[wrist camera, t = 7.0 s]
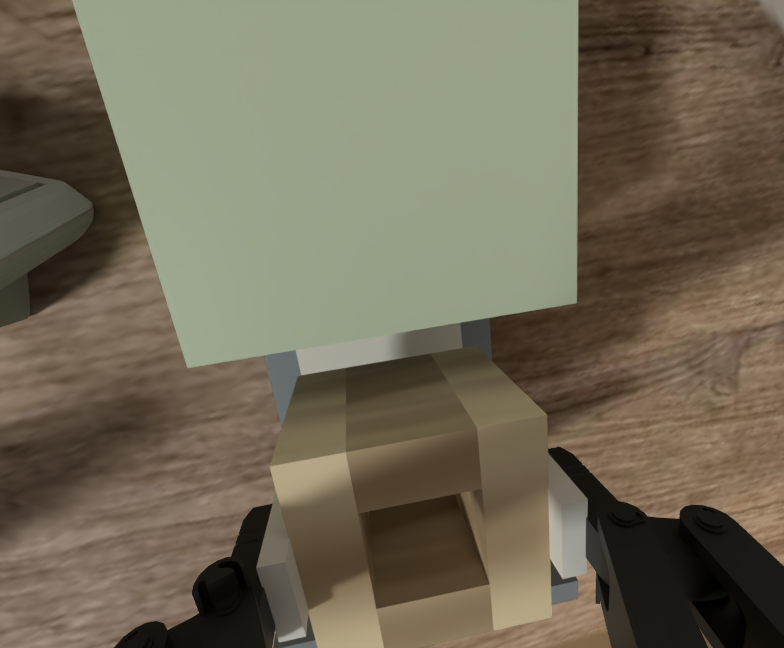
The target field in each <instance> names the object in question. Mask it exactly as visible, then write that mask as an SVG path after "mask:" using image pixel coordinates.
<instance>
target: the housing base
mask: <svg viewBox="0 0 784 648" xmlns="http://www.w3.org/2000/svg"><path fill="white" fill-rule="evenodd" d="M471 346H477V347H478V348H479V349H480V350H481V351H482V352H483V353H484V354H485V355H486V356H487V357H488V358H489V359H490V360H491V361H492V349H491V333H490V318H485V319H479V320H473V321H467V322H461V323H455V324H449V325H443V326H437V327H431V328H425V329H419V330H413V331H407V332H401V333H395V334H389V335H383V336H377V337H371V338H365V339H359V340H353V341H347V342H341V343H335V344H329V345H323V346H317V347H311V348H305V349H299V350H293V351H287V352H281V353H275V354H269V355H264V358H265V362H266V366H267V370H268V374H269V378H270V382H271V386H272V390H273V394H274V398H275V402H276V406H277V410H278V414H279V418H280V422H281V426H282V425H283V422H284V419H285V416H286V413H287V409H288V406H289V403H290V400H291V397H292V394H293V390H294V387H295V384H296V381H297V378H298V376H300V375H306V374H312V373H318V372H324V371H329V370H335V369H341V368H347V367H353V366H359V365H365V364H371V363H377V362H383V361H388V360H394V359H400V358H406V357H412V356H418V355H424V354H430V353H436V352H441V351H447V350H453V349H459V348H465V347H471ZM550 562H551V605H553V604H557V603H562V602H566V601H570V600H575V599H578V580H577V578H576V577H575V576H574V577H570V578H565V579H562V577H561V576H560V574H559V572H558V571H557V569H556V567H555V566H554V564H553V562H552V561H551V559H550ZM274 648H317V644H316V640H315V636H314V633H313V629H312V625H311V621H310V618H309V614H308V621H307V632H306V637H302V638H297V639H293V640H288V641H284V642H279V641H278V638H277V634H276V636H275V642H274Z"/></svg>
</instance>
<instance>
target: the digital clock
mask: <svg viewBox="0 0 784 648" xmlns="http://www.w3.org/2000/svg"><path fill="white" fill-rule="evenodd" d="M92 205H93V204H92V202H91V201H90V200H88V199H87V198H86V197H84V196H83V195H82V194H80V193H79V192H78V191H76V190H75V189H74V188H72V187H71V186H69V185H68V184H67V183H65V182H63V181H59V180H55V179H50V178H44V177H38V176H33V175H27V174H22V173H16V172H10V171H4V170H0V327H2V326H6V325H9V324H12V323H15V322H18V321H21V320H24V319H27V318H28V317H29V315H30V297H29V284H28V272H29V271H30V270H32V269H33V268H35V267H37V266H38V265H40V264H41V263H43V262H44V261H46V260H47V259H49V258H51V257H52V256H54V255H55V254H57V253H58V252H60V251H61V250H63V249H65V248H66V247H68V246H69V245H71V244H72V243H74V242H75V241H76V240H78V239H79V238H80V237H81V236H82V235H83V234H84V233H85V232H86V231H87V229H88V227H89V226H90V224H91V223H92V221H93V216H94V209H93V206H92Z"/></svg>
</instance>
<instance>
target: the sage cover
mask: <svg viewBox="0 0 784 648" xmlns="http://www.w3.org/2000/svg"><path fill="white" fill-rule="evenodd" d="M72 1H73V5H74V8H75V11H76V14H77V17H78V20H79V24H80V27H81V30H82V33H83V36H84V40H85V43H86V46H87V49H88V52H89V56H90V59H91V62H92V65H93V68H94V71H95V75H96V78H97V81H98V84H99V87H100V91H101V94H102V97H103V100H104V103H105V107H106V110H107V113H108V116H109V119H110V122H111V126H112V129H113V132H114V135H115V138H116V142H117V145H118V148H119V151H120V154H121V158H122V161H123V164H124V167H125V170H126V173H127V177H128V180H129V183H130V186H131V189H132V193H133V196H134V199H135V202H136V205H137V208H138V212H139V215H140V218H141V221H142V224H143V228H144V231H145V234H146V237H147V240H148V244H149V247H150V250H151V253H152V256H153V259H154V263H155V266H156V269H157V272H158V275H159V279H160V282H161V285H162V288H163V291H164V295H165V298H166V301H167V304H168V307H169V310H170V314H171V317H172V320H173V323H174V326H175V330H176V333H177V336H178V339H179V342H180V346H181V349H182V352H183V355H184V358H185V361H186V365H187V368H191V367H197V366H203V365H209V364H215V363H221V362H227V361H233V360H239V359H245V358H251V357H257V356H263V355H269V354H275V353H281V352H287V351H293V350H299V349H305V348H311V347H317V346H323V345H329V344H335V343H341V342H347V341H353V340H359V339H365V338H371V337H377V336H383V335H389V334H395V333H401V332H407V331H413V330H419V329H425V328H431V327H437V326H443V325H449V324H455V323H461V322H467V321H473V320H479V319H485V318H491V317H497V316H503V315H509V314H515V313H521V312H527V311H533V310H539V309H545V308H551V307H557V306H563V305H569V304H575V303H577V184H578V0H72Z"/></svg>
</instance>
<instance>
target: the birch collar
mask: <svg viewBox="0 0 784 648" xmlns="http://www.w3.org/2000/svg"><path fill="white" fill-rule="evenodd" d="M270 470H271V474H272V478H273V481H274V485H275V489H276V493H277V496H278V500H279V504H280V508H281V512H282V515H283V519H284V523H285V527H286V530H287V534H288V538H290V542H291V546H292V550H293V553H294V557H295V561H296V565H297V569H298V572H299V576H300V580H301V584H302V587H303V591H304V595H305V599H306V603H307V606H308V610H309V611H308V614H309V618H310V621H311V625H312V629H313V633H314V636H315V640H316V644H317V648H420V647H424V646H428V645H433V644H437V643H442V642H446V641H450V640H455V639H459V638H464V637H468V636H472V635H477V634H481V633H485V632H490V631H494V630H499V629H503V628H507V627H512V626H516V625H520V624H525V623H529V622H534V621H538V620H542V619H547V618H551V617H552V607H551V562H550V543H549V502H548V486H549V472H548V427H547V414H546V413H545V412H544V411H543V410H542V409H541V408H540V407H539V406H538V405H537V404H536V403H535V402H534V401H533V400H531V399H530V398H529V397H528V396H527V395H526V394H525V393H524V392H523V391H522V390H521V389H520V388H519V387H518V386H517V385H516V384H515V383H514V382H513V381H512V380H511V379H510V378H509V377H508V376H507V375H506V374H505V373H504V372H503V371H502V370H501V369H500V368H498V367H497V366H496V365H495V364H494V363H493V362H492V361H491V360H490V359H489V358H488V357H487V356H486V355H485V354H484V353H483V352H482V351H481V350H480V349H479V348H478V347H477V346H471V347H465V348H459V349H453V350H447V351H441V352H436V353H430V354H424V355H418V356H412V357H406V358H400V359H394V360H388V361H383V362H377V363H371V364H365V365H359V366H353V367H347V368H341V369H335V370H329V371H324V372H318V373H312V374H306V375H300V376H298V378H297V381H296V384H295V387H294V390H293V394H292V397H291V400H290V403H289V406H288V409H287V413H286V416H285V419H284V422H283V425H282V429H281V432H280V435H279V438H278V441H277V445H276V448H275V451H274V454H273V457H272V460H271V464H270Z"/></svg>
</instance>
